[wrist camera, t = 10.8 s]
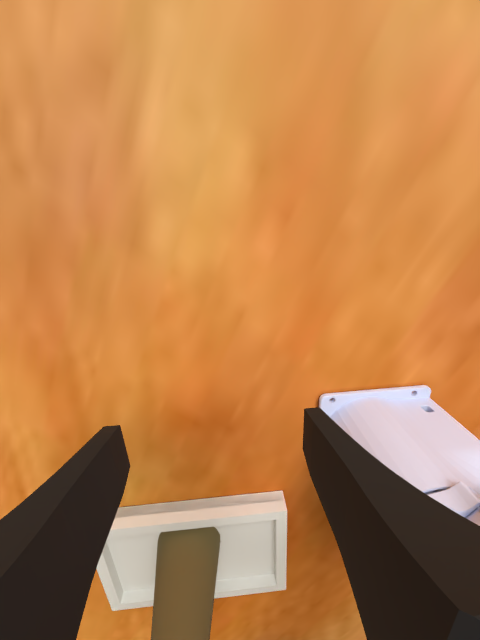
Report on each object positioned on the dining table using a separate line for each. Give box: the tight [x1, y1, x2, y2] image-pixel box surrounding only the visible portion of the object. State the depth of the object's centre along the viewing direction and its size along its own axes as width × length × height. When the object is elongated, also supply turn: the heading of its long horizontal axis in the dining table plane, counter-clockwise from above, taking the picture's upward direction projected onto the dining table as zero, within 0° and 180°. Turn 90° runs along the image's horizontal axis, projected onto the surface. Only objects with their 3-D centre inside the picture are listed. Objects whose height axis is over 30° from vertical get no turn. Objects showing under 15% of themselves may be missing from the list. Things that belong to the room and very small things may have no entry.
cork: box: [151, 527, 220, 640], centre depth 22 cm, size 6×6×11 cm
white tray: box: [96, 491, 287, 611], centre depth 27 cm, size 18×12×2 cm, turn 93°
